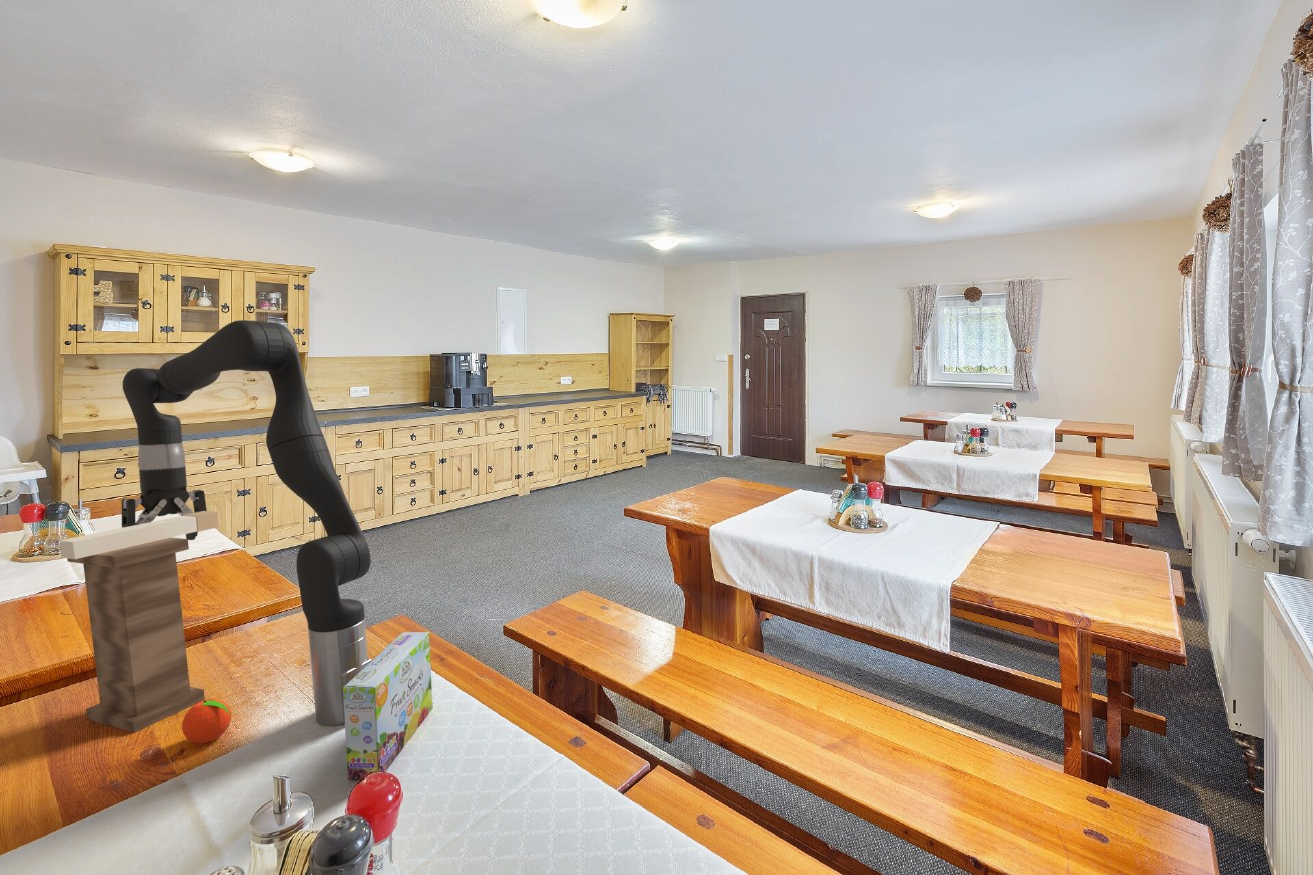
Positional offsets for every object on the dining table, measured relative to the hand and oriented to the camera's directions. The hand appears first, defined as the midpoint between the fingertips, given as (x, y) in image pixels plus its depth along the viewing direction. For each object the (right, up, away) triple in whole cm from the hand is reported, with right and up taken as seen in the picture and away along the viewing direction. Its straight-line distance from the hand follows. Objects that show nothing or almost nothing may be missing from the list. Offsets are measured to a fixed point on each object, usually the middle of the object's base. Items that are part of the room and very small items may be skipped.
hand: (168, 543), depth 128 cm
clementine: (+25, -30, -21) cm, 44 cm away
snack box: (+57, -30, -23) cm, 68 cm away
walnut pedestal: (+4, -30, -10) cm, 32 cm away
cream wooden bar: (+4, +2, -10) cm, 11 cm away
